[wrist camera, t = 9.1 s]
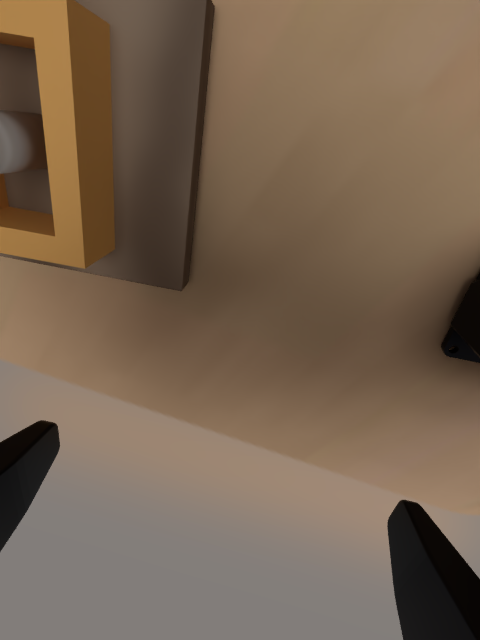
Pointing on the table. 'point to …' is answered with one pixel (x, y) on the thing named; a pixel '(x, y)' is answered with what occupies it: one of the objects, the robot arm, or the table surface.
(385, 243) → the table surface
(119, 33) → the keeper board
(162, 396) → the table surface
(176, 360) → the table surface
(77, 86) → the tan rectangular frame
